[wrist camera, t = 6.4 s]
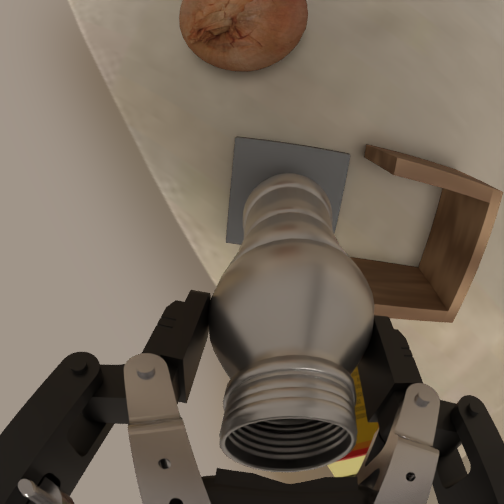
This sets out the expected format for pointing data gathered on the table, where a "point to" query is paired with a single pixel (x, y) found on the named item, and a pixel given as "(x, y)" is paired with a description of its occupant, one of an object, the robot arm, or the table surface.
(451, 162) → the table surface
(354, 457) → the baking soda box
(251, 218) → the plastic bottle
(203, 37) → the onion
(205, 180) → the table surface
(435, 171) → the walnut rack
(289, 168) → the rubber mat
